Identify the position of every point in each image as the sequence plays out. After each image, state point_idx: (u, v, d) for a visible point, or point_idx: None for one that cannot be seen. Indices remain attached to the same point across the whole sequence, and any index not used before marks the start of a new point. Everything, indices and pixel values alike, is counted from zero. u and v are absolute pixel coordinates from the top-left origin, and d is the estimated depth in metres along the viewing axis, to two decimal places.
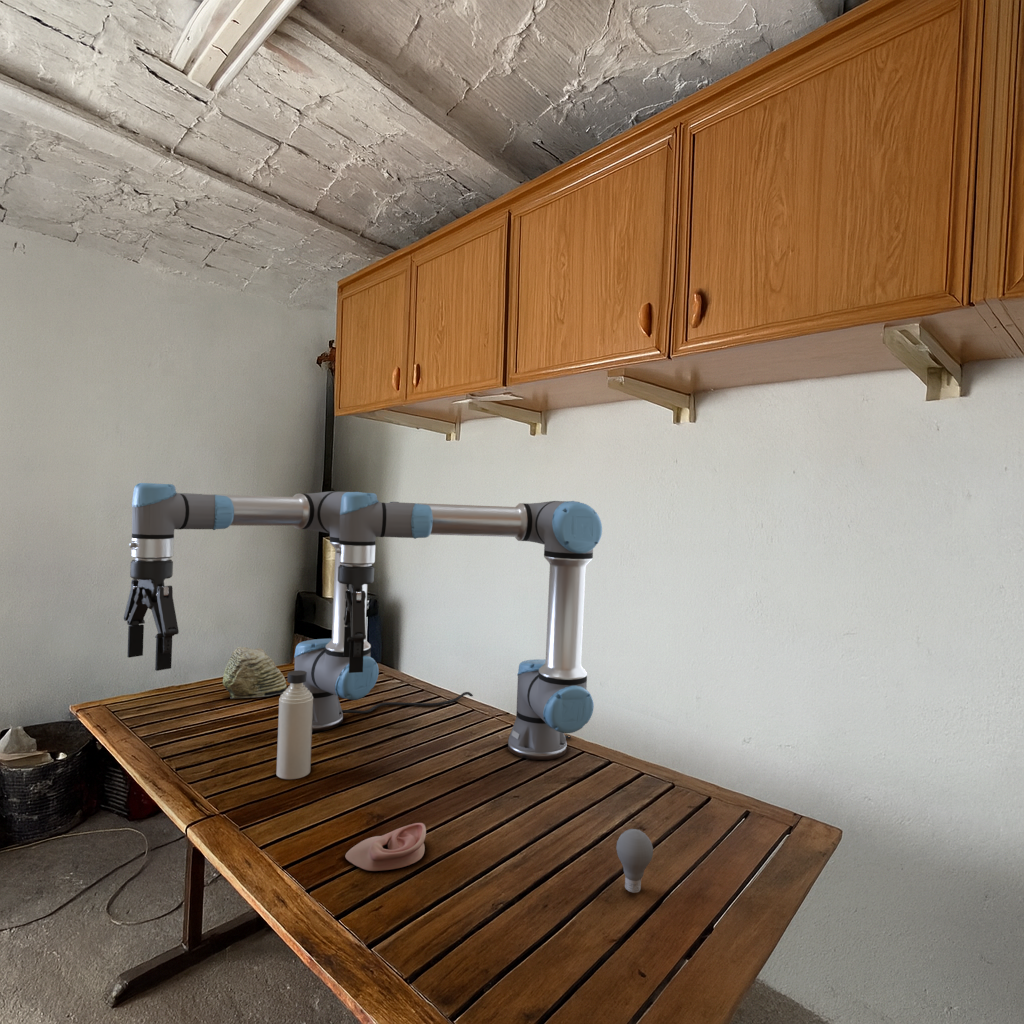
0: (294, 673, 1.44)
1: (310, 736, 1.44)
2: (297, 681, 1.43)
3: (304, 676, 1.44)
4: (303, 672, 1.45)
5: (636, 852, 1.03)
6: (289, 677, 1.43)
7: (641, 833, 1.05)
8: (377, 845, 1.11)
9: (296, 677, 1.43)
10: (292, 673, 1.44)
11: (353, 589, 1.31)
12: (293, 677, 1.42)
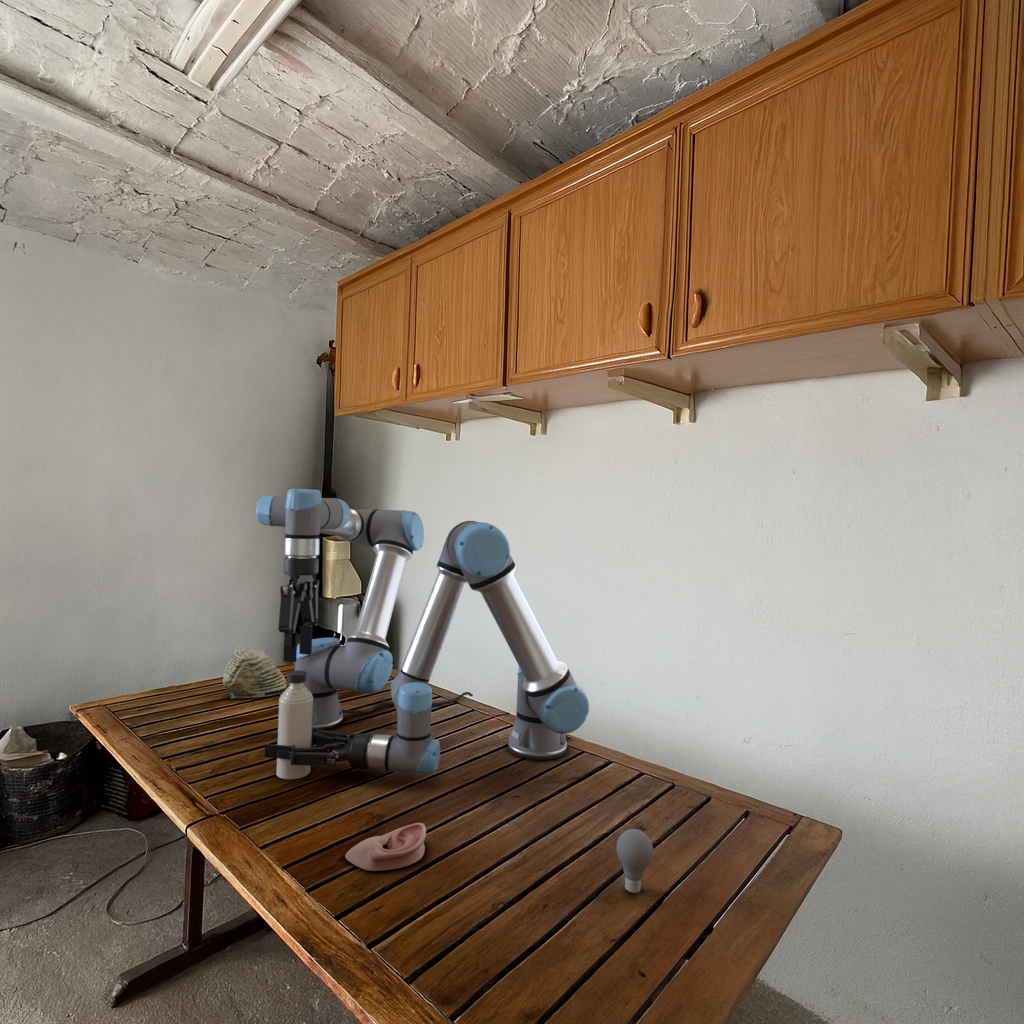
0: (294, 673, 1.44)
1: (310, 736, 1.44)
2: (297, 681, 1.43)
3: (304, 676, 1.44)
4: (303, 672, 1.45)
5: (636, 852, 1.03)
6: (289, 677, 1.43)
7: (641, 833, 1.05)
8: (377, 845, 1.11)
9: (296, 677, 1.43)
10: (292, 673, 1.44)
11: None
12: (293, 677, 1.42)
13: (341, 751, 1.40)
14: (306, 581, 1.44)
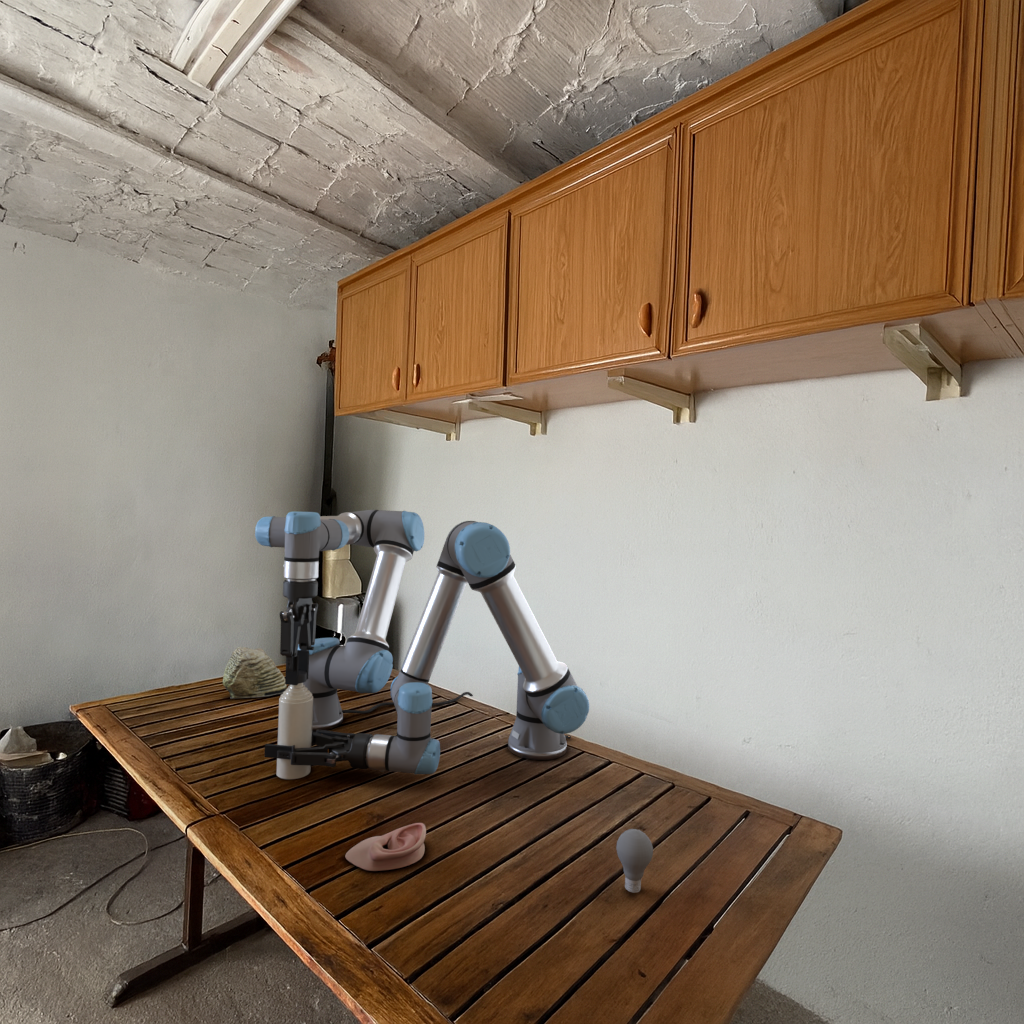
0: None
1: (310, 736, 1.44)
2: None
3: (304, 676, 1.44)
4: (303, 672, 1.45)
5: (636, 852, 1.03)
6: None
7: (641, 833, 1.05)
8: (377, 845, 1.11)
9: None
10: None
11: None
12: None
13: (341, 751, 1.40)
14: (305, 604, 1.45)
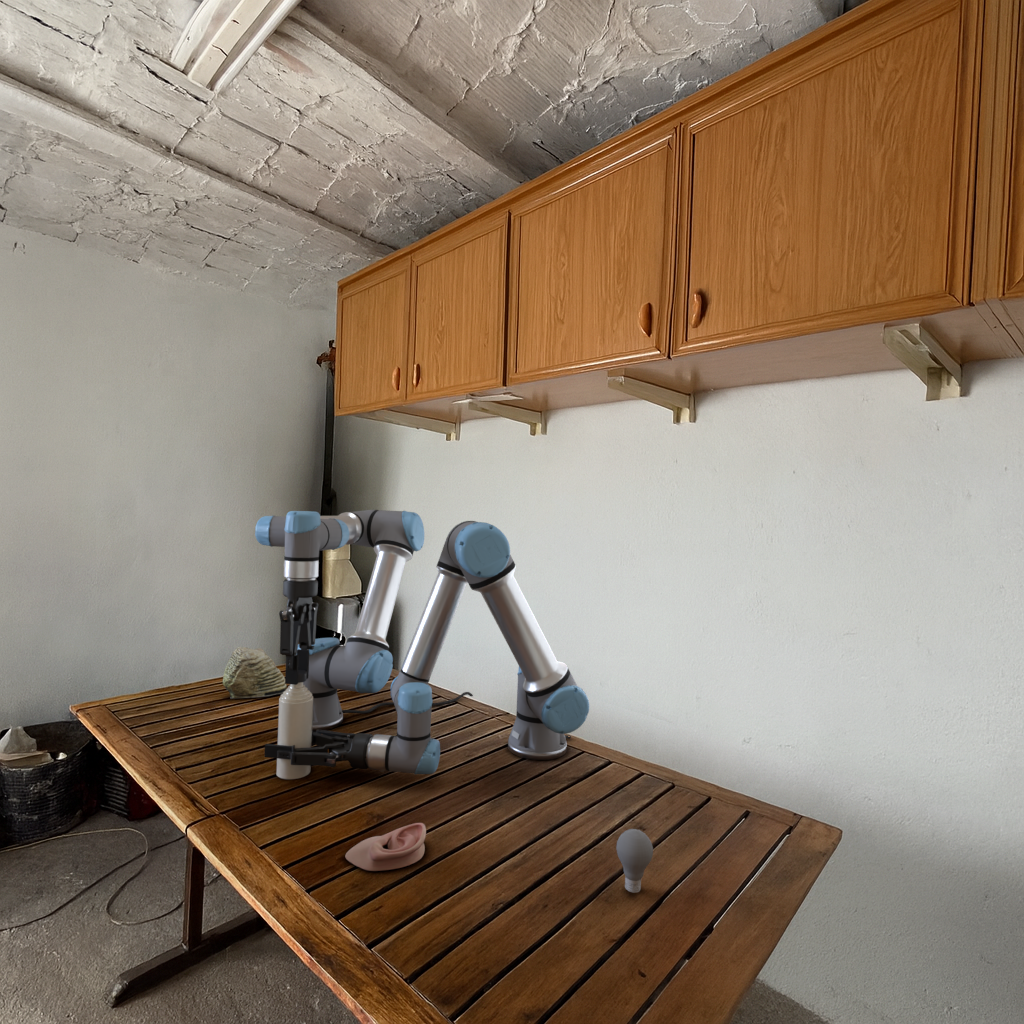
0: (300, 672, 1.44)
1: (310, 736, 1.44)
2: None
3: None
4: None
5: (636, 852, 1.03)
6: (306, 675, 1.45)
7: (641, 833, 1.05)
8: (377, 845, 1.11)
9: None
10: (301, 672, 1.44)
11: None
12: None
13: (341, 751, 1.40)
14: (305, 603, 1.45)
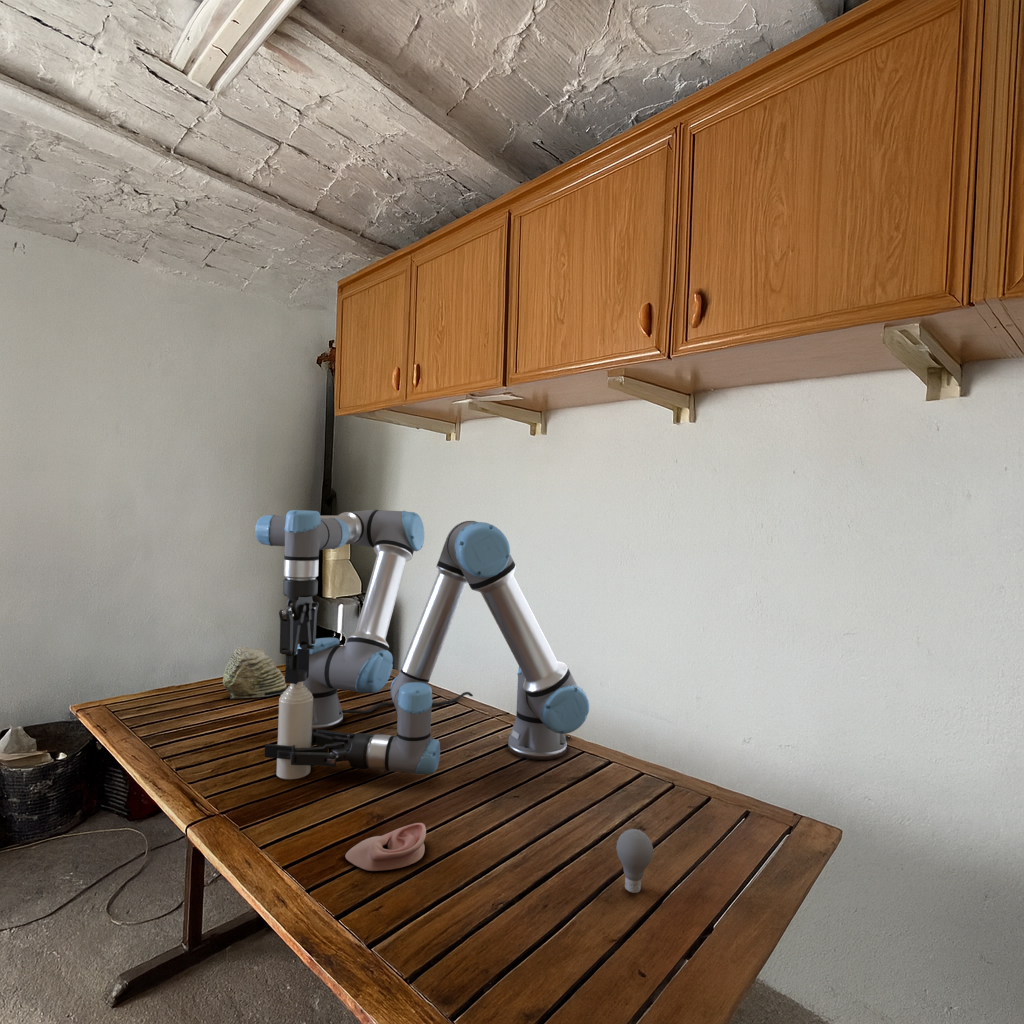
0: None
1: (310, 736, 1.44)
2: None
3: None
4: None
5: (636, 852, 1.03)
6: None
7: (641, 833, 1.05)
8: (377, 845, 1.11)
9: None
10: None
11: None
12: None
13: (341, 751, 1.40)
14: (305, 602, 1.45)
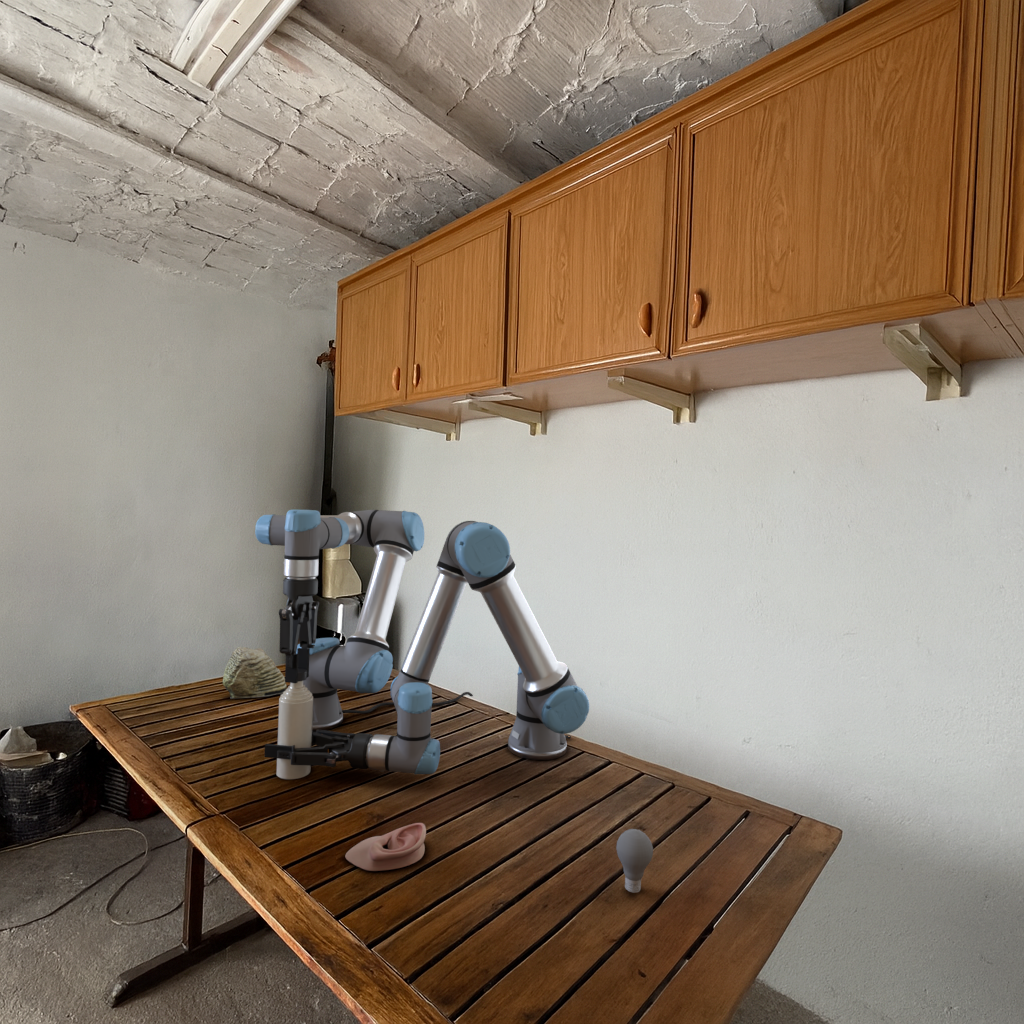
0: None
1: (310, 736, 1.44)
2: (301, 679, 1.43)
3: (306, 673, 1.45)
4: (302, 669, 1.45)
5: (636, 852, 1.03)
6: None
7: (641, 833, 1.05)
8: (377, 845, 1.11)
9: (300, 675, 1.43)
10: None
11: None
12: None
13: (341, 751, 1.40)
14: (305, 602, 1.45)
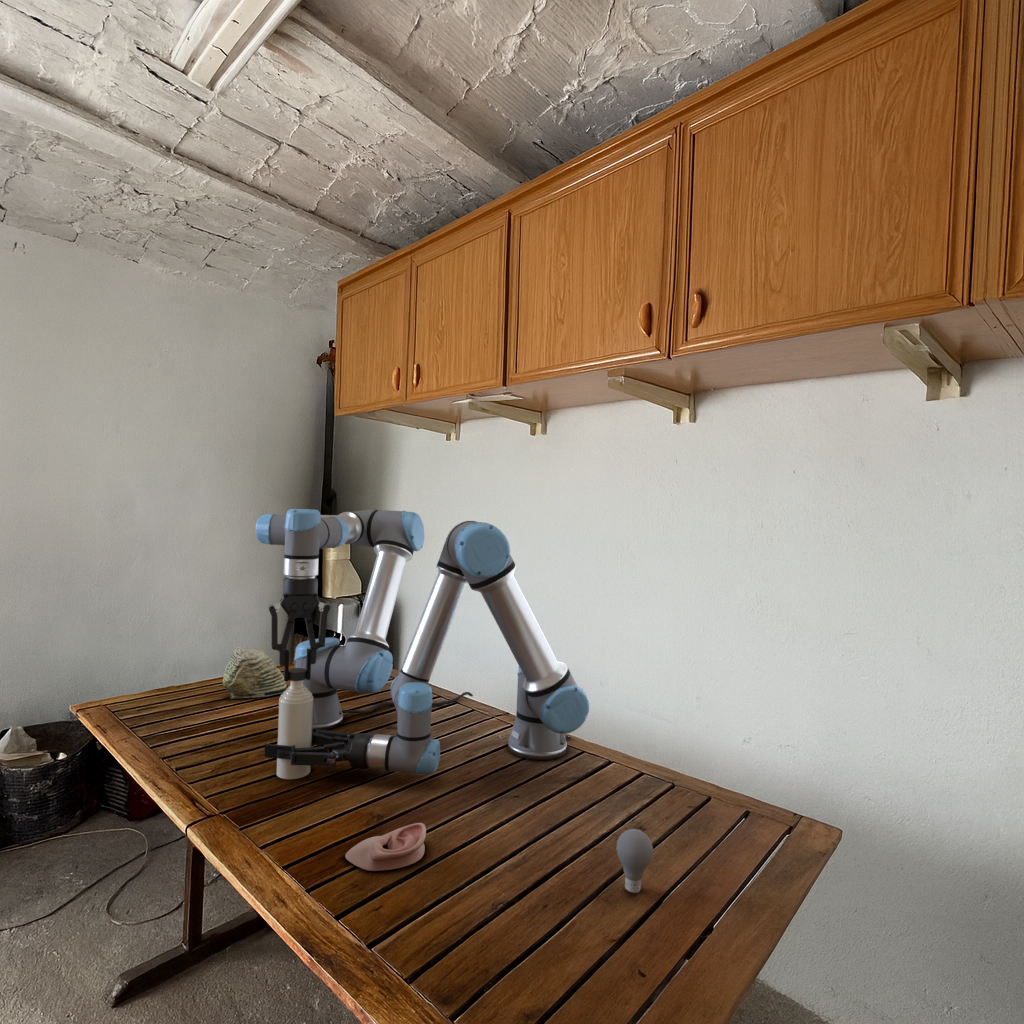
0: (300, 670, 1.45)
1: (310, 736, 1.44)
2: None
3: None
4: (291, 669, 1.45)
5: (636, 852, 1.03)
6: (306, 672, 1.45)
7: (641, 833, 1.05)
8: (377, 845, 1.11)
9: None
10: (302, 670, 1.45)
11: None
12: None
13: (341, 751, 1.40)
14: None
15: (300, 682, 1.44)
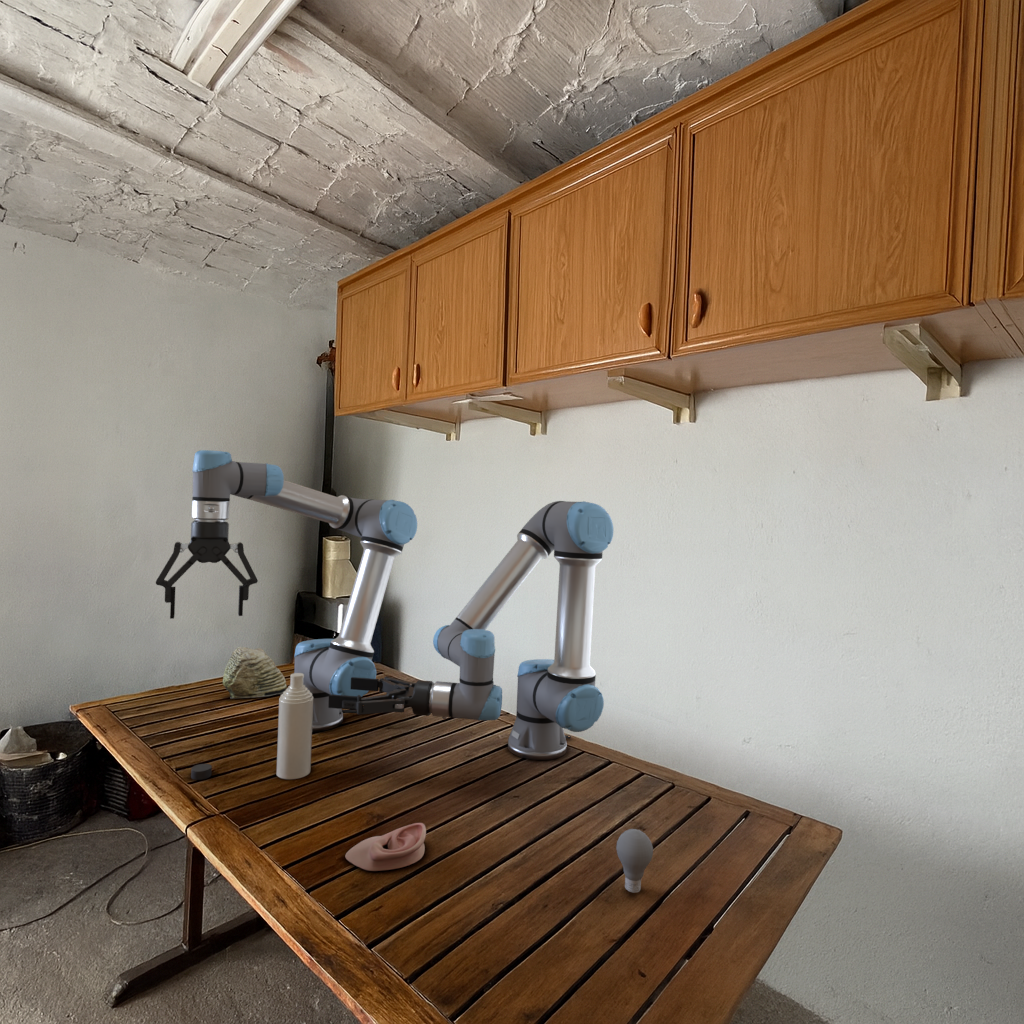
0: (205, 767, 1.41)
1: (310, 736, 1.44)
2: None
3: None
4: (195, 767, 1.41)
5: (636, 852, 1.03)
6: (211, 769, 1.42)
7: (641, 833, 1.05)
8: (377, 845, 1.11)
9: None
10: (206, 767, 1.41)
11: None
12: None
13: (405, 697, 1.39)
14: None
15: (300, 682, 1.44)
